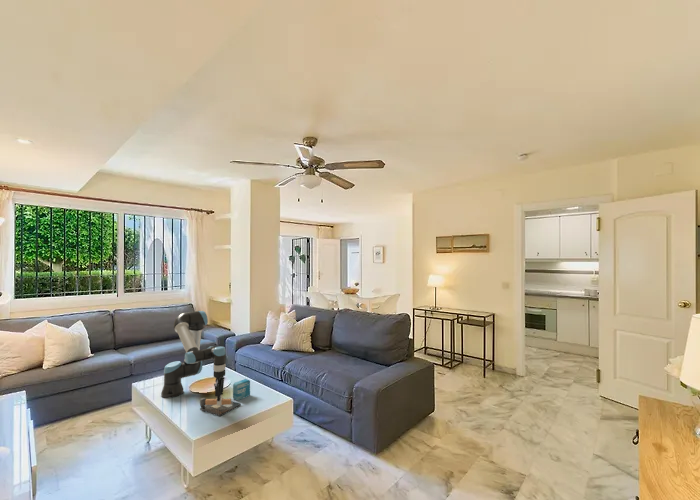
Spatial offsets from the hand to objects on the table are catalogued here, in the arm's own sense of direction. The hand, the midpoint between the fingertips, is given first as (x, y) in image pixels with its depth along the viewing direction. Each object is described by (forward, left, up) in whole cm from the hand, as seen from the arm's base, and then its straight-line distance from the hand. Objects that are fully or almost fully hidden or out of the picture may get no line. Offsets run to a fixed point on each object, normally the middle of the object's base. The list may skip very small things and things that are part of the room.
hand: (219, 405), depth 222 cm
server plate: (-5, +5, -5) cm, 9 cm away
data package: (-5, +24, -5) cm, 25 cm away
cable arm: (-6, +2, -2) cm, 7 cm away
